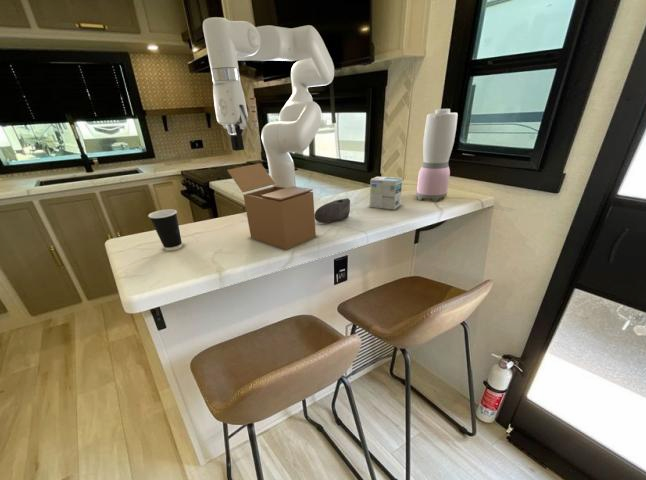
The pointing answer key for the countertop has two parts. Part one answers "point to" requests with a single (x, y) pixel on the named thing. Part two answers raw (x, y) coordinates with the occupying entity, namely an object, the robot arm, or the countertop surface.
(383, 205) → the light bulb box
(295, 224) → the carton
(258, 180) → the flap
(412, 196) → the countertop surface
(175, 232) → the dixie cup
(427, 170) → the blender
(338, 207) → the perforated stone tool
